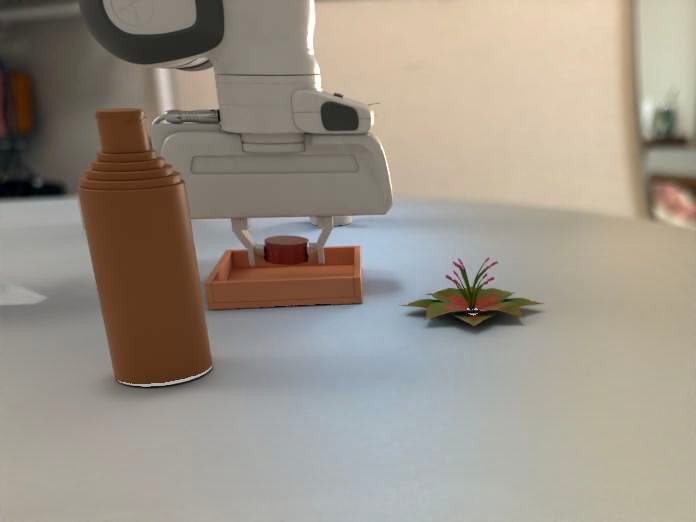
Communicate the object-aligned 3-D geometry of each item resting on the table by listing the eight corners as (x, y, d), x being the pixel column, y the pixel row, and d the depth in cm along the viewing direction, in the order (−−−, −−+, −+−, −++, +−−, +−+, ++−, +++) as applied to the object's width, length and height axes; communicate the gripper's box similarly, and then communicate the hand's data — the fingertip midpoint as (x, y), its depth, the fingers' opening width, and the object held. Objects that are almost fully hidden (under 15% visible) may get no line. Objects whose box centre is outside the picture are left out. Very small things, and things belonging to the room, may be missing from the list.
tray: (207, 310, 74) (203, 283, 73) (229, 273, 86) (225, 249, 85) (362, 303, 76) (360, 277, 75) (362, 268, 88) (360, 245, 87)
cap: (256, 259, 80) (254, 239, 79) (291, 252, 83) (290, 233, 82) (283, 267, 78) (282, 246, 77) (318, 260, 81) (318, 240, 80)
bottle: (104, 390, 57) (47, 113, 50) (126, 359, 62) (78, 106, 56) (205, 384, 58) (163, 113, 51) (218, 353, 64) (182, 106, 57)
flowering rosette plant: (374, 313, 73) (370, 261, 72) (470, 286, 82) (469, 239, 80) (474, 343, 66) (473, 285, 64) (569, 310, 75) (570, 259, 73)
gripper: (137, 112, 70) (164, 276, 75) (388, 111, 74) (397, 268, 79) (154, 107, 76) (178, 260, 81) (386, 107, 79) (394, 253, 85)
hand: (288, 264), depth 80 cm, fingers closed on cap, 4 cm apart
